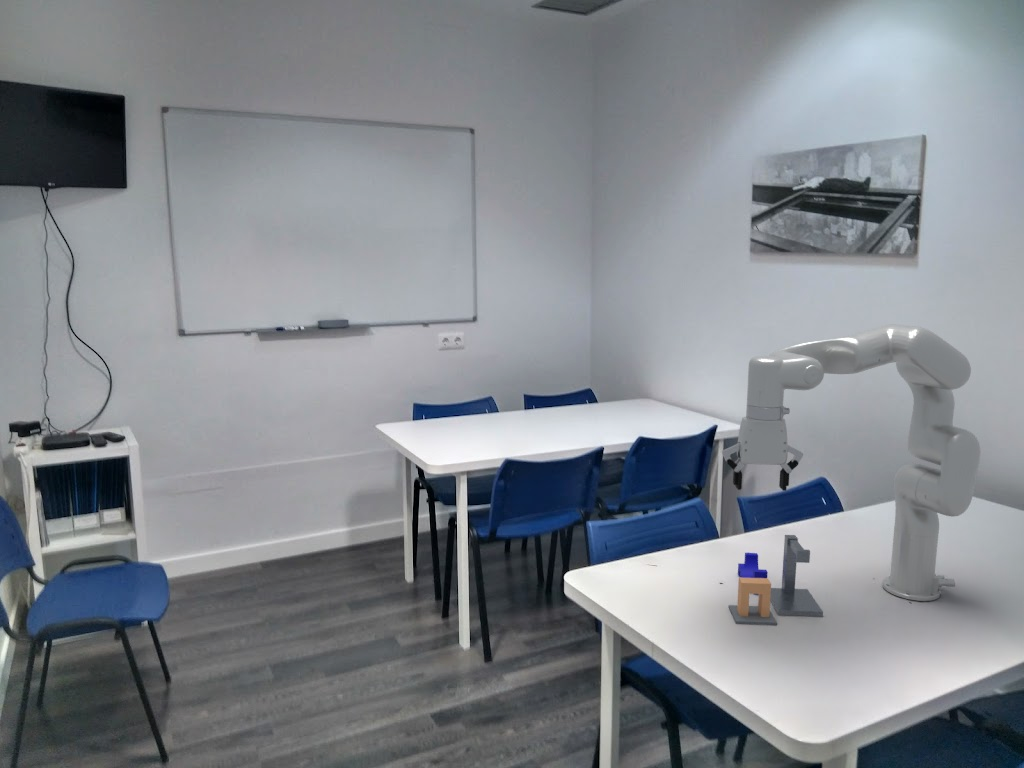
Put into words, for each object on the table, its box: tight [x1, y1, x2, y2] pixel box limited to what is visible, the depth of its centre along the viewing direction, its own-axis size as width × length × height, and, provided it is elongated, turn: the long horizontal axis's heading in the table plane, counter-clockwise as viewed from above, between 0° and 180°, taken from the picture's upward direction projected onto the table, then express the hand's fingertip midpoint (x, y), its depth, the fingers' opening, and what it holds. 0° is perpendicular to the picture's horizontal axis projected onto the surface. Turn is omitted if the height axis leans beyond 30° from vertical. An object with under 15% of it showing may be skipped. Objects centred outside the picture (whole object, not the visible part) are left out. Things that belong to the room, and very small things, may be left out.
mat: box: [728, 604, 778, 626], centre depth 173 cm, size 9×8×1 cm
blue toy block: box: [737, 552, 768, 596], centre depth 189 cm, size 12×4×6 cm, turn 174°
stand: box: [770, 534, 824, 618], centre depth 177 cm, size 10×12×15 cm
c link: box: [736, 576, 772, 617], centre depth 172 cm, size 6×3×8 cm, turn 86°
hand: (760, 488), depth 168 cm, fingers open, 9 cm apart
